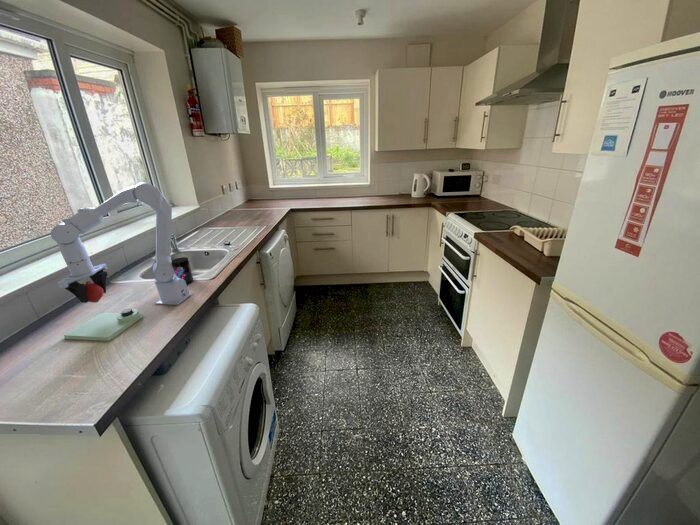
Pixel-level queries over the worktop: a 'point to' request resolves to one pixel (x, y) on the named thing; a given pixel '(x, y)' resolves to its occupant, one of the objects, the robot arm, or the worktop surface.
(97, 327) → the scale
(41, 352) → the worktop surface
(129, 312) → the tare button
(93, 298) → the onion
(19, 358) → the worktop surface
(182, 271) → the supplement container
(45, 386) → the worktop surface
